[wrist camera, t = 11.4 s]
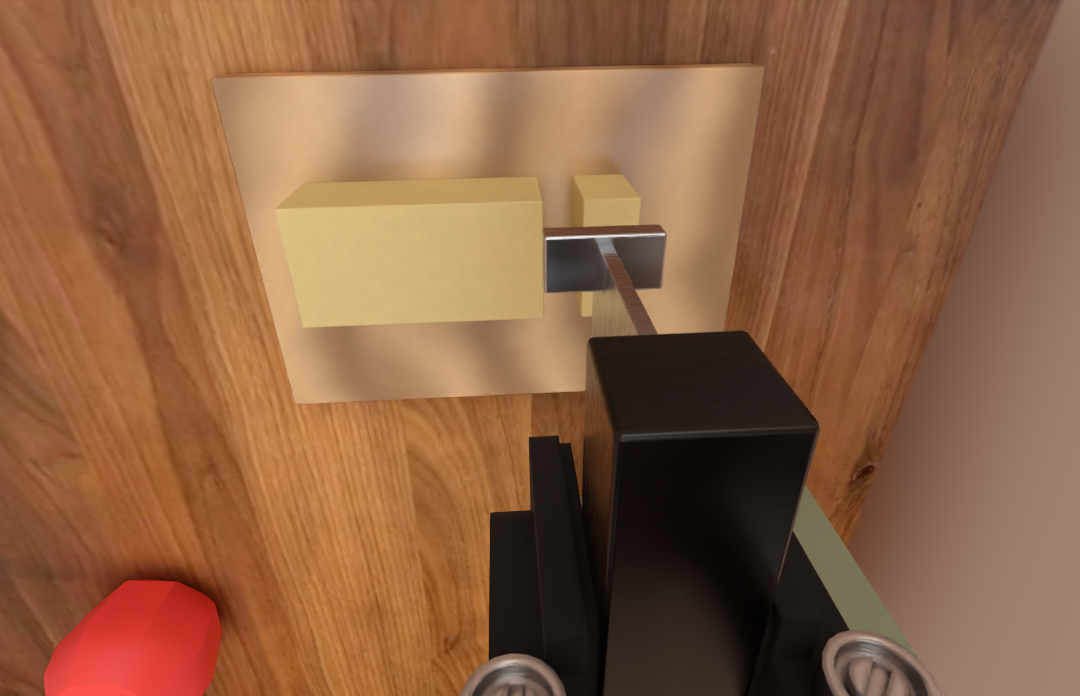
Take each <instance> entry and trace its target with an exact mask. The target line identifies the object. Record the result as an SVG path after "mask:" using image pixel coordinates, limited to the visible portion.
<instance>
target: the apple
mask: <svg viewBox="0 0 1080 696" xmlns="http://www.w3.org/2000/svg"><path fill="white" fill-rule="evenodd" d="M221 636H222V629H221V625H220V621H219V617H218V613H217V609H216V605H215V603H214V602H213V601H212V600H211V599H210V598H209V597H208V596H207V595H206V594H204V593H202V592H200V591H197V590H195V589H193V588H191V587H189V586H187V585H184V584H182V583H180V582H176V581H164V580H152V579H142V580H130V581H125V582H124V583H123V584H122V585H121V586H119V587H118V588H117V589H116V590H114V591H113V592H112V593H111V594H109V595H108V596H107V597H106V598H104V599H103V600H102V601H101V602H100V603H99V604H98V605H97V606H96V607H95V608H94V609H93V610H92V611H91V612H90V613H89V614H88V615H87V616H86V617H85V618H84V619H83V620H82V621H81V622H80V623H79V624H78V625H77V626H76V627H75V628H74V629H73V630H72V631H71V632H70V633H69V634H68V635H67V636H66V637H65V638H64V639H63V640H62V641H61V642H60V643H59V644H58V645H57V646H56V649H55V651H54V653H53V656H52V658H51V660H50V663H49V665H48V667H47V670H46V672H45V674H44V684H45V696H202V695H203V693H204V692H205V690H206V689H207V687H208V686H209V684H210V683H211V681H212V679H213V674H214V669H215V665H216V660H217V655H218V650H219V645H220V640H221Z"/></svg>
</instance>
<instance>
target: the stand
mask: <svg viewBox="0 0 1080 696" xmlns="http://www.w3.org/2000/svg"><path fill="white" fill-rule="evenodd" d="M793 532H794V533H795V535H796V537H797V539H798V540H799V542H800V544H801V546H802V547H803V549H804V551H805V553H806V554H807V556H808V558H809V560H810V561H811V563H812V565H813V567H814V568H815V570H816V572H817V574H818V575H819V577H820V579H821V581H822V582H823V584H824V586H825V588H826V589H827V591H828V593H829V595H830V596H831V598H832V600H833V602H834V603H835V605H836V607H837V608H838V610H839V612H840V614H841V615H842V617H843V619H844V621H845V622H846V624H847V626H848V628H849V629H850V630H862V631H870V632H873V633H876V634H879V635H882V636H886V637H888V638H889V639H891V640H893V641H895V642H897V643H898V644H900V645H902V646H904V647H905V648H906V649H907V650H908V651H910V652H911V653H912V654H913V655H915V656H916V657H917V655H916V654H915V653H914V651H913V649H912V648H911V646H910V645H909V644H908V642H907V640H906V639H905V637H904V635H903V634H902V632H901V631H900V629H899V628H898V626H897V625H896V623H895V622H894V620H893V619H892V617H891V616H890V614H889V613H888V611H887V609H886V608H885V606H884V605H883V603H882V602H881V600H880V599H879V597H878V595H877V594H876V593H875V591H874V589H873V588H872V586H871V585H870V583H869V582H868V580H867V579H866V577H865V575H864V574H863V572H862V571H861V569H860V568H859V566H858V565H857V563H856V562H855V560H854V559H853V557H852V555H851V554H850V552H849V551H848V549H847V548H846V546H845V545H844V543H843V542H842V540H841V539H840V537H839V535H838V534H837V532H836V531H835V529H834V528H833V526H832V525H831V523H830V522H829V520H828V519H827V517H826V515H825V514H824V512H823V511H822V509H821V508H820V506H819V505H818V503H817V502H816V500H815V499H814V497H813V495H812V494H811V492H810V491H809V489H808V488H807V486H806V485H805V487H804V490H803V494H802V498H801V501H800V505H799V509H798V512H797V516H796V520H795V524H794V527H793ZM917 658H918V657H917Z"/></svg>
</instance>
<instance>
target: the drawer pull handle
mask: <svg viewBox="0 0 1080 696" xmlns="http://www.w3.org/2000/svg"><path fill="white" fill-rule="evenodd" d="M666 242H667V233H666V231H665V230H664V229H663V228H662V226H661V225H659V224H651V225H621V226H591V227H561V228H544V229H542V283H543V289H544V292H545V293H572V292H593V299H592V329H591V338H589V340H588V342H587V352H586V386H585V420H584V454H583V488H582V497H580V500H581V506H582V526H583V531H584V537H585V543H586V549H587V555H588V561H589V566H590V572H591V578H592V584H593V590H594V596H595V602H596V607H597V614H598V622H599V636H600V648H599V665H598V682H597V696H748V693H749V689H750V685H751V682H752V678H753V674H754V671H755V667H756V663H757V660H758V656H759V652H760V649H761V645H762V641H763V638H764V634H765V630H766V627H767V623H768V619H769V615H770V612H771V608H772V604H773V601H774V597H775V593H776V590H777V586H778V582H779V579H780V575H781V571H782V568H783V564H784V560H785V557H786V553H787V549H788V546H789V542H790V538H791V535H792V531H793V527H794V524H795V520H796V516H797V512H798V509H799V505H800V501H801V498H802V494H803V490H804V487H805V483H806V479H807V476H808V472H809V468H810V465H811V461H812V457H813V454H814V450H815V446H816V443H817V439H818V435H819V432H820V430H819V424H818V421H817V420H816V419H815V418H814V416H813V415H812V414H811V413H810V411H809V410H808V409H807V408H806V406H805V405H804V404H803V402H802V401H801V400H800V399H799V397H798V396H797V395H796V394H795V392H794V391H793V390H792V388H791V387H790V386H789V385H788V383H787V382H786V381H785V380H784V378H783V377H782V376H781V375H780V373H779V372H778V371H777V369H776V368H775V367H774V366H773V364H772V363H771V362H770V361H769V359H768V358H767V357H766V356H765V354H764V353H763V352H762V350H761V349H760V348H759V347H758V345H757V344H756V343H755V342H754V340H753V339H752V338H751V336H750V335H749V334H748V333H747V332H745V331H718V332H695V333H672V334H658V333H657V331H656V329H655V327H654V325H653V323H652V321H651V319H650V317H649V315H648V313H647V311H646V309H645V307H644V305H643V303H642V301H641V299H640V297H639V296H638V294H637V292H636V290H648V289H661V288H662V284H663V274H664V263H665V253H666Z"/></svg>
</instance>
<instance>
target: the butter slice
mask: <svg viewBox="0 0 1080 696" xmlns="http://www.w3.org/2000/svg"><path fill="white" fill-rule="evenodd" d="M640 209H641V198H640V196H639V195H638V194H637V192H636V191H635V190H634V188H633V187H632V186H631V185H630V183H629V182H628V181H627V179H626V178H625V177H624V175H623V174H606V175H574V176H573V195H572V227H591V226H621V225H639V223H640ZM575 295H576V299H577V303H578V306H579V310H580V314H581V316H582V317H588V316H592V299H593V292H575Z"/></svg>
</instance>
